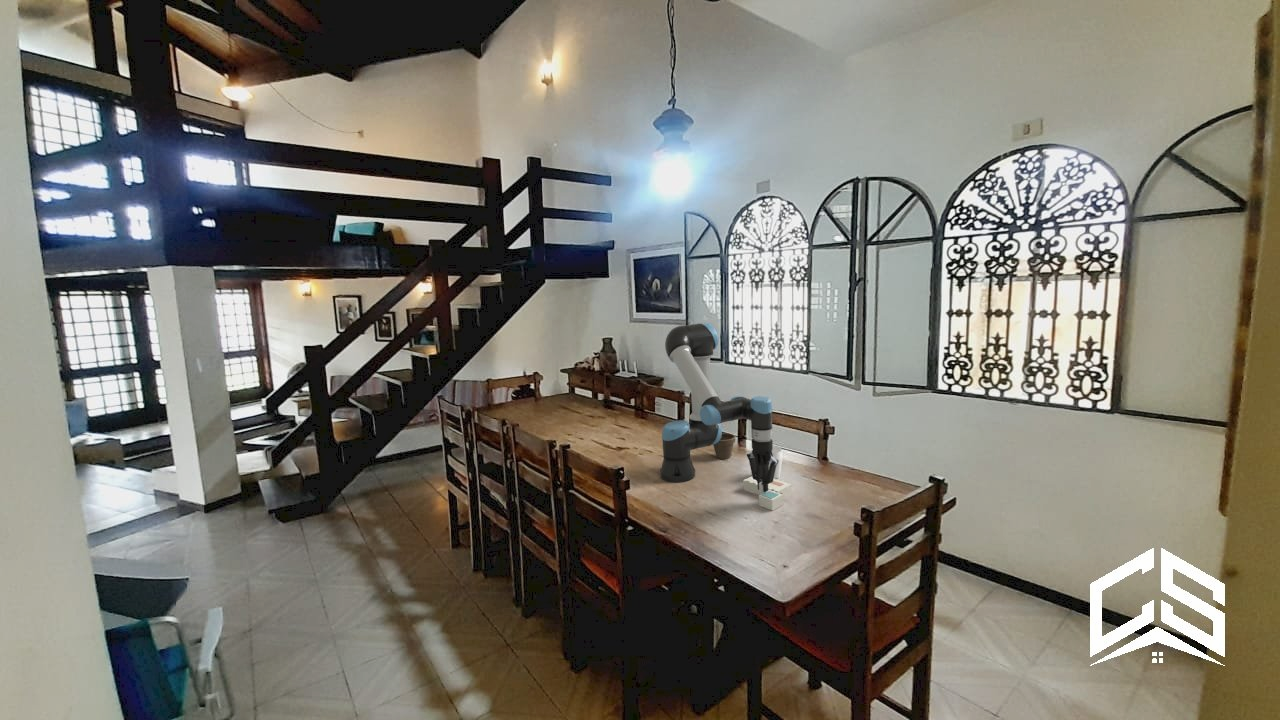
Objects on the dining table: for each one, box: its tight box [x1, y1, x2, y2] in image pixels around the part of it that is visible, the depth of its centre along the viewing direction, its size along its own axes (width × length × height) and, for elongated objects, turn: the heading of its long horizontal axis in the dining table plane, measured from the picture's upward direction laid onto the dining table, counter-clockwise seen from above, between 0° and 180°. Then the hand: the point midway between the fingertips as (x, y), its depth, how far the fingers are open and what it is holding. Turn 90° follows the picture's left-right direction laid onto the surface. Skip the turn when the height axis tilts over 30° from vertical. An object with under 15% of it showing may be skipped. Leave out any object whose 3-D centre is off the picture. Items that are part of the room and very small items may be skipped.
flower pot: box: [713, 432, 736, 460], centre depth 246 cm, size 12×11×10 cm
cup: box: [769, 445, 783, 480], centre depth 220 cm, size 9×9×12 cm
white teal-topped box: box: [758, 489, 785, 511], centre depth 195 cm, size 6×7×4 cm
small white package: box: [743, 475, 792, 499], centre depth 206 cm, size 16×9×4 cm, turn 40°
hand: (763, 498), depth 198 cm, fingers closed
